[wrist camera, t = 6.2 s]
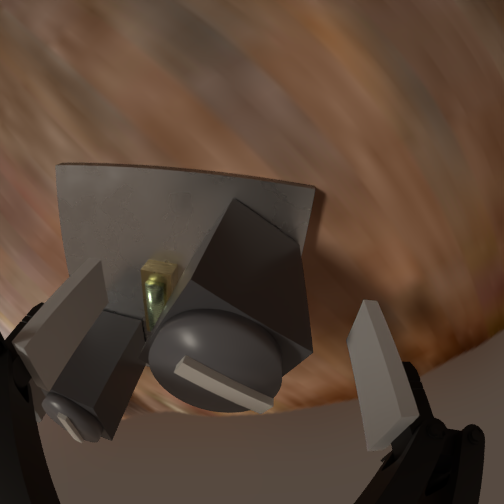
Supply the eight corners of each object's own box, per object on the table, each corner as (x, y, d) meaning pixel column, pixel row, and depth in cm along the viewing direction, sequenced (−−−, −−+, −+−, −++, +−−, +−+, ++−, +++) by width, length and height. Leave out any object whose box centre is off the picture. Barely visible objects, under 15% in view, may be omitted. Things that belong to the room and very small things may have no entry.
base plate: (62, 162, 19) (55, 165, 18) (313, 185, 19) (315, 189, 18) (92, 342, 28) (89, 348, 27) (268, 381, 28) (267, 388, 27)
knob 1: (92, 307, 24) (28, 394, 14) (141, 320, 24) (85, 423, 14) (102, 347, 26) (54, 429, 16) (147, 360, 26) (106, 453, 16)
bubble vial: (148, 259, 21) (134, 276, 19) (177, 264, 21) (166, 282, 19) (153, 319, 24) (142, 338, 22) (179, 324, 24) (170, 344, 22)
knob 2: (192, 257, 21) (126, 380, 10) (233, 197, 18) (178, 303, 8) (253, 296, 22) (233, 432, 11) (299, 244, 20) (315, 379, 9)
